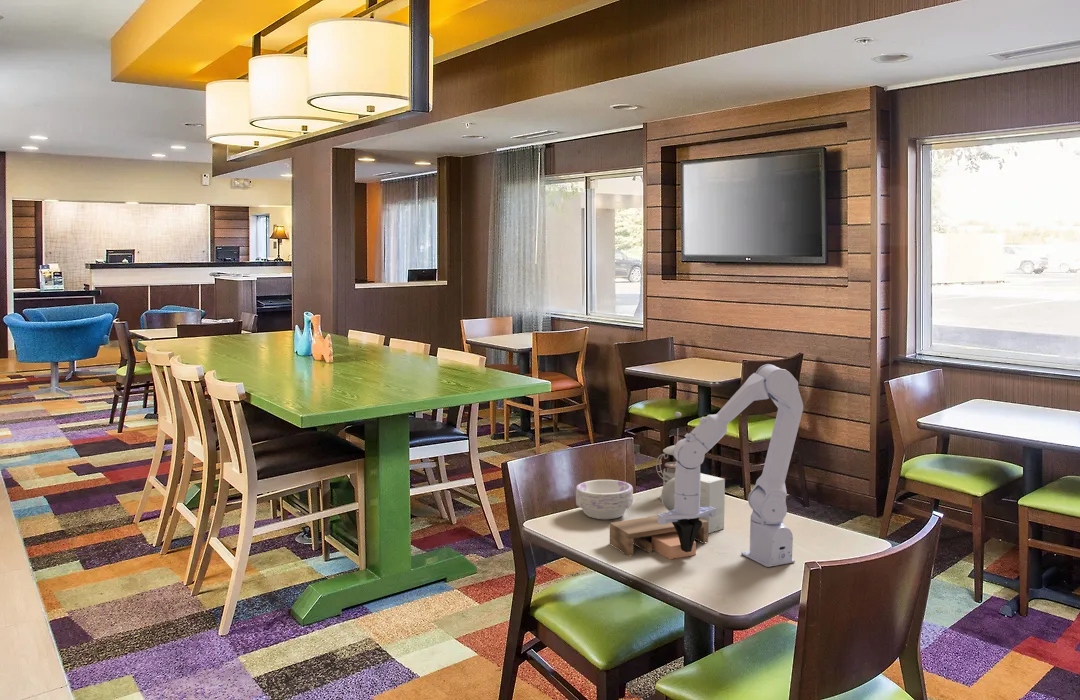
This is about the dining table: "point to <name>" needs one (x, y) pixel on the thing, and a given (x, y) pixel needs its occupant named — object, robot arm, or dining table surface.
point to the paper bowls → (604, 498)
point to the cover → (670, 546)
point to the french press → (671, 465)
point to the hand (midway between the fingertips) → (686, 550)
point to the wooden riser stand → (645, 533)
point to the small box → (713, 500)
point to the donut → (669, 494)
